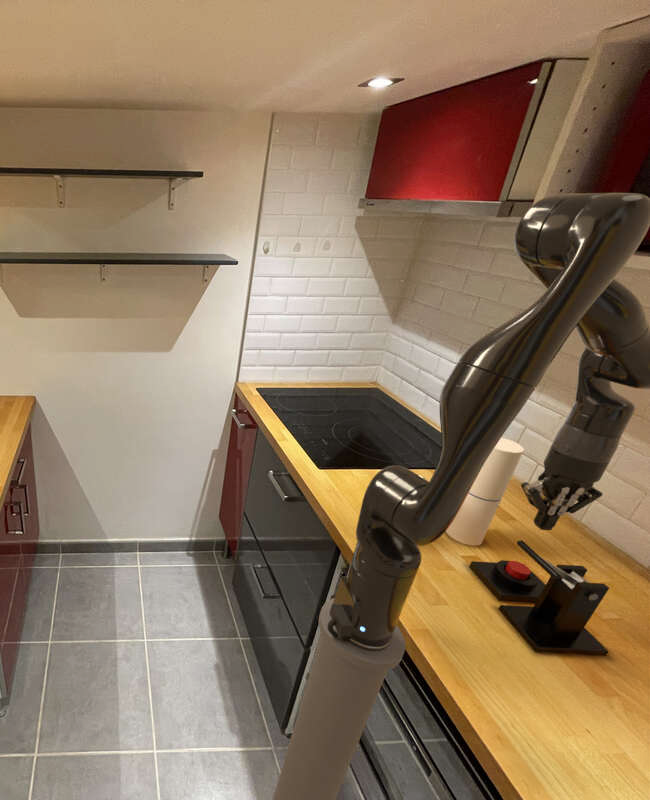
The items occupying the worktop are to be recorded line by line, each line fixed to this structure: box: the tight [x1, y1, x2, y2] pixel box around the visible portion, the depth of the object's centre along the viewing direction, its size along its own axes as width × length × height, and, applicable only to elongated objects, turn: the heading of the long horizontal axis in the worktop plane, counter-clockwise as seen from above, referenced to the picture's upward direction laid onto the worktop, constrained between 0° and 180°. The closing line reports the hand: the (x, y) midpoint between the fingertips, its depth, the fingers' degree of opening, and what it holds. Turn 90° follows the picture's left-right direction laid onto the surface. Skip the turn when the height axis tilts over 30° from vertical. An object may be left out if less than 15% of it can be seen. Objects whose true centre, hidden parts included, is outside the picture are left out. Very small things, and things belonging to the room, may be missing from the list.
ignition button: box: [505, 560, 532, 580], centre depth 91 cm, size 4×4×2 cm
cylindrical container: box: [445, 437, 525, 547], centre depth 101 cm, size 7×7×25 cm
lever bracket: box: [498, 564, 610, 657], centre depth 79 cm, size 12×9×14 cm
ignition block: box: [468, 559, 547, 604], centre depth 92 cm, size 11×9×4 cm
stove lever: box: [516, 539, 590, 590], centre depth 77 cm, size 12×8×2 cm
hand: (541, 527), depth 86 cm, fingers closed
